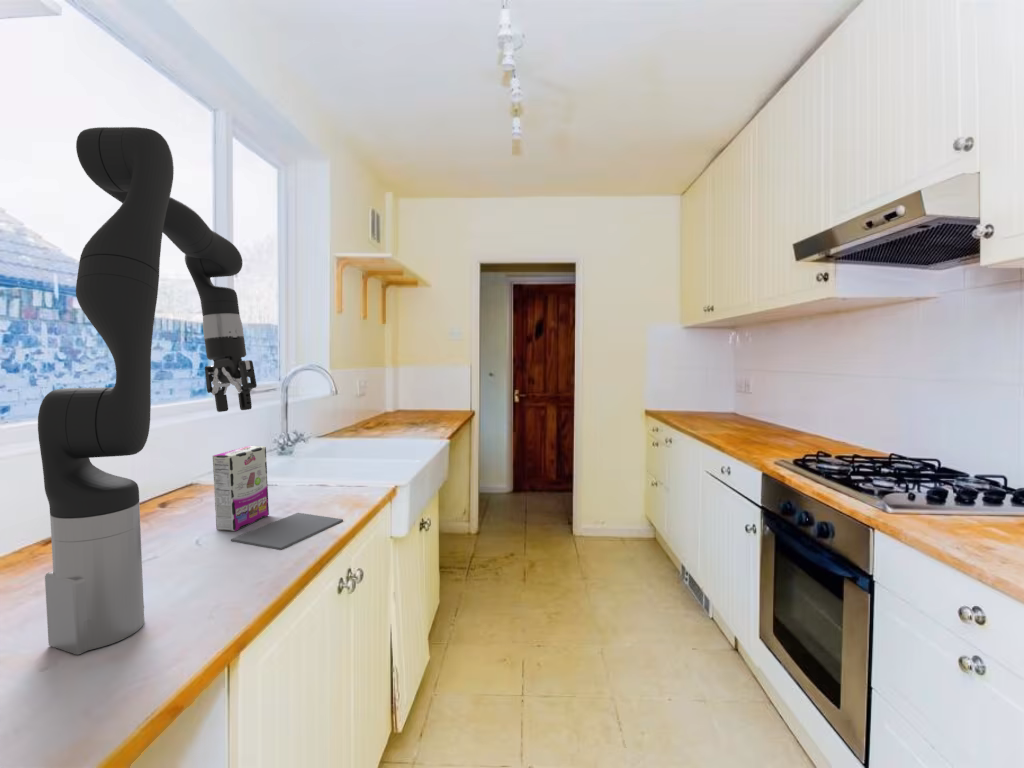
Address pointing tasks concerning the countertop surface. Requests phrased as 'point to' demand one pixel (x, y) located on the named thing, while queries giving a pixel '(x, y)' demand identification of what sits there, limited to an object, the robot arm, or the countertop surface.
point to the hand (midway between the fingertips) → (234, 410)
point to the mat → (287, 531)
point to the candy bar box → (240, 487)
